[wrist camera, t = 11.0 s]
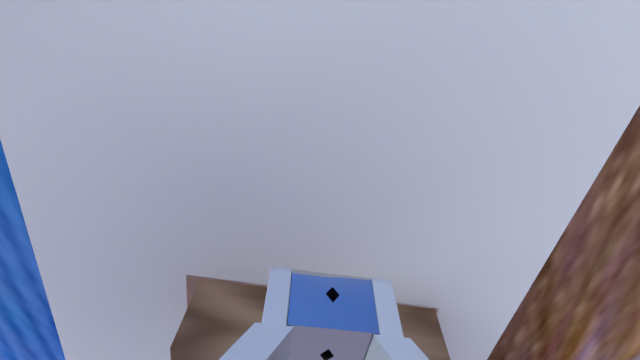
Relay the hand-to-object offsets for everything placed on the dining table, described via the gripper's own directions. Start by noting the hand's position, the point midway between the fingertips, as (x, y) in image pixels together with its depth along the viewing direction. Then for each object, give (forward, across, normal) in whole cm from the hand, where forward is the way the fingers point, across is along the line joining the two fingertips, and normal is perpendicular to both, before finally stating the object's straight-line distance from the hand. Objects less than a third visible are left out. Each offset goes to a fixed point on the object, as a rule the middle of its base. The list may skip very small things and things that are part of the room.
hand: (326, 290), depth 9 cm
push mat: (+10, +1, +10) cm, 14 cm away
